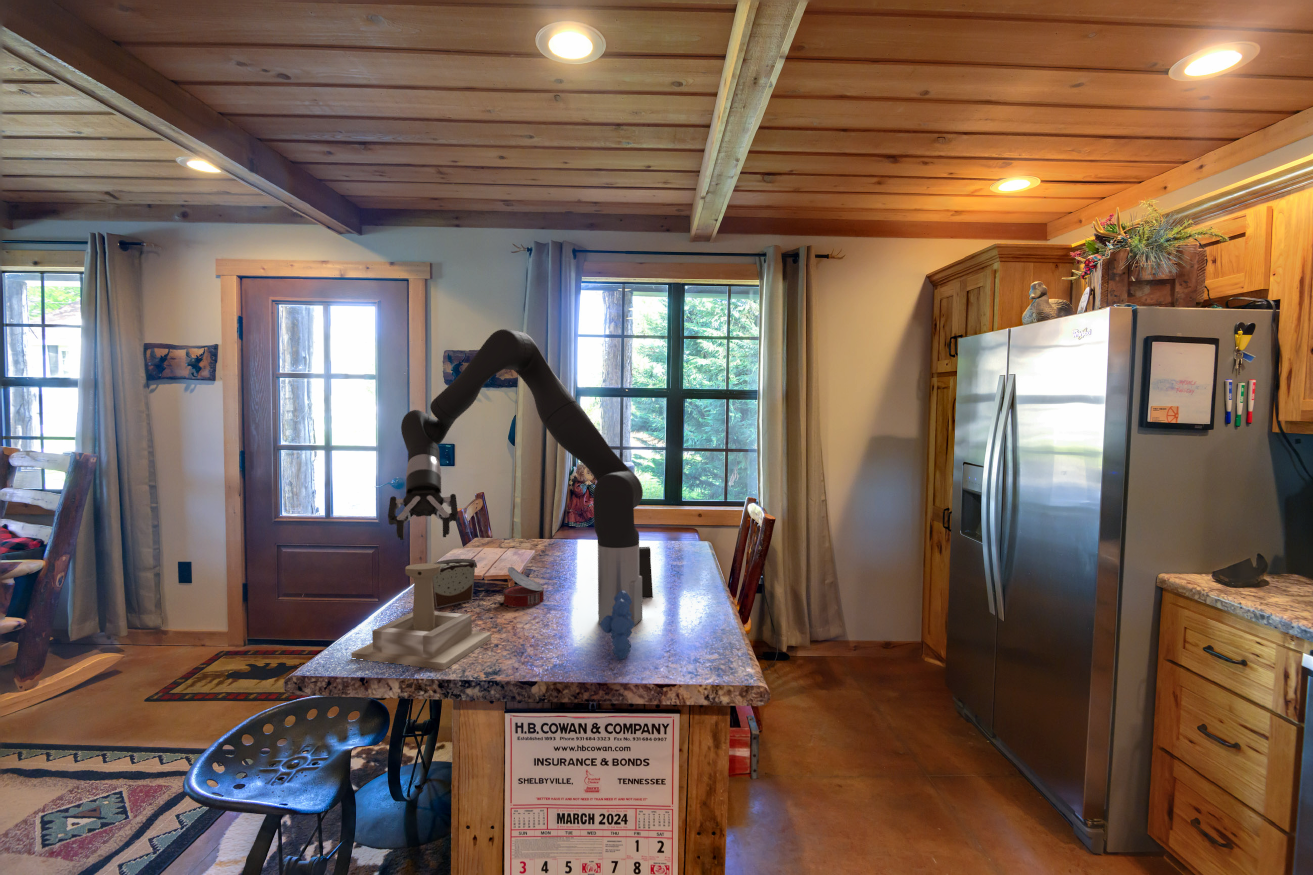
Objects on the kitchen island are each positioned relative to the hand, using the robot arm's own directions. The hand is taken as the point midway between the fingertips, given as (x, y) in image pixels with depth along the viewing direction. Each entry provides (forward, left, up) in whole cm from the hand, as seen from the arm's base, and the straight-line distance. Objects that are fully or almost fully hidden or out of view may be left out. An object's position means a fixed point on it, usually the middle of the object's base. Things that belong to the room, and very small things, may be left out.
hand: (423, 536), depth 128 cm
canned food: (-11, -25, -21) cm, 34 cm away
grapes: (-45, +3, -20) cm, 49 cm away
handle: (-7, +9, -19) cm, 22 cm away
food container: (+7, -20, -20) cm, 29 cm away
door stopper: (-37, -38, -20) cm, 56 cm away
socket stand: (-7, +9, -20) cm, 23 cm away
